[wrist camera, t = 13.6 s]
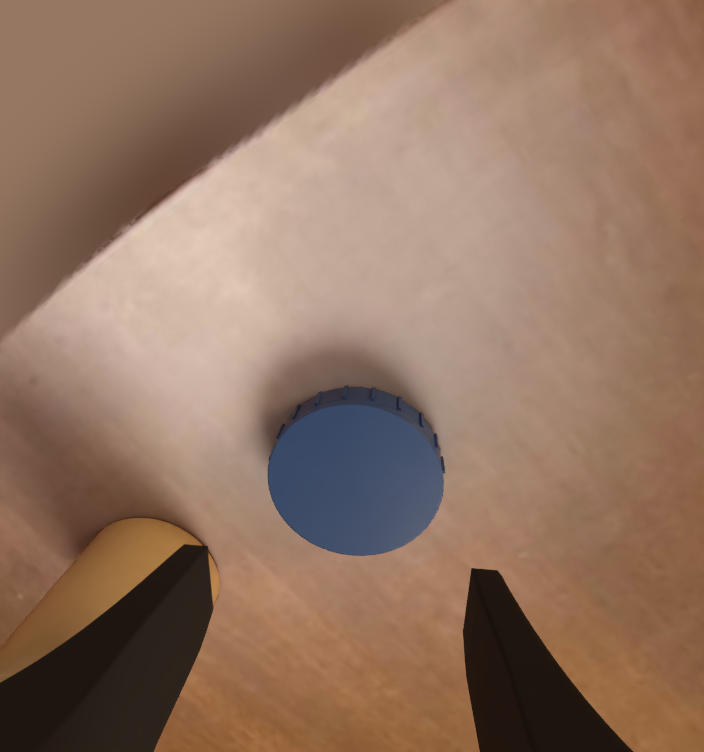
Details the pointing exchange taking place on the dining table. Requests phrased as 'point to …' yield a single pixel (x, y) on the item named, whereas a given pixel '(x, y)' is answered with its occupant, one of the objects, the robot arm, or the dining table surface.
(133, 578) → the jar
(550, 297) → the dining table surface
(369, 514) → the lid
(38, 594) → the dining table surface
